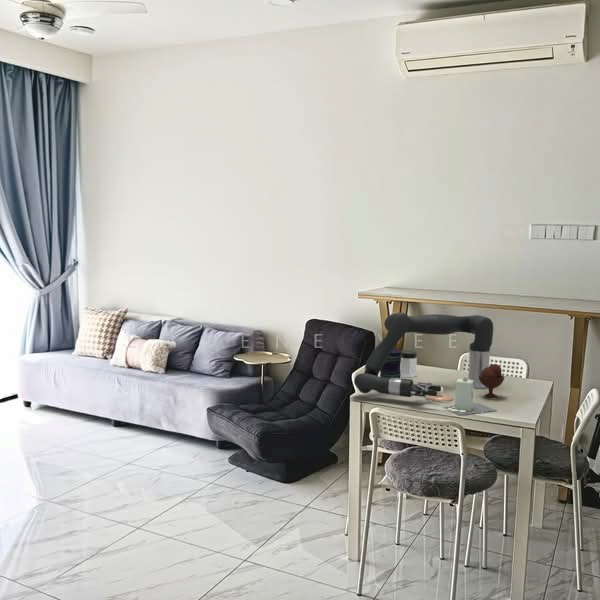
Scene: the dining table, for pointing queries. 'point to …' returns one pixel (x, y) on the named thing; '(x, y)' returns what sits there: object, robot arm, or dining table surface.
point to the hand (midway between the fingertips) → (438, 391)
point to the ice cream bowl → (491, 378)
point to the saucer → (445, 397)
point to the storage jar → (392, 365)
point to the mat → (473, 409)
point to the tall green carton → (464, 394)
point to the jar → (408, 363)
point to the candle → (440, 393)
